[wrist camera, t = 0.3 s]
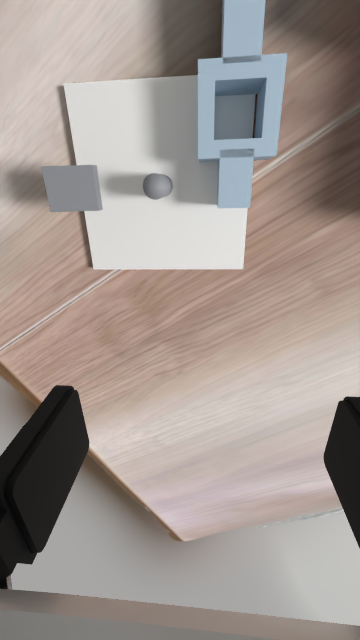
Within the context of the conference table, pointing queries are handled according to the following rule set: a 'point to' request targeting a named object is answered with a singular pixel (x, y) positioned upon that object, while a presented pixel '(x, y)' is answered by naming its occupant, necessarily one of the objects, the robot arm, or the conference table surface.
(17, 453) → the robot arm
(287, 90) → the conference table surface
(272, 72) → the link
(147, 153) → the board
